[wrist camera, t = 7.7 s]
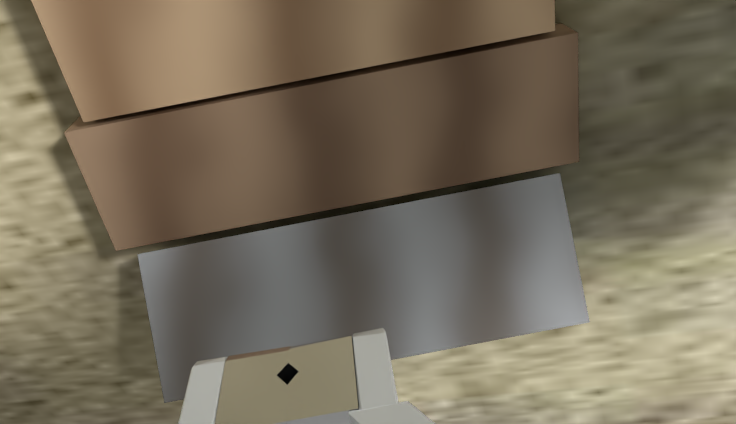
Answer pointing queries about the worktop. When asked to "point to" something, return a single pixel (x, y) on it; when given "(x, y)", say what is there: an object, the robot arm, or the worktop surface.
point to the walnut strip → (333, 140)
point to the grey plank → (371, 279)
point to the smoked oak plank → (255, 42)
